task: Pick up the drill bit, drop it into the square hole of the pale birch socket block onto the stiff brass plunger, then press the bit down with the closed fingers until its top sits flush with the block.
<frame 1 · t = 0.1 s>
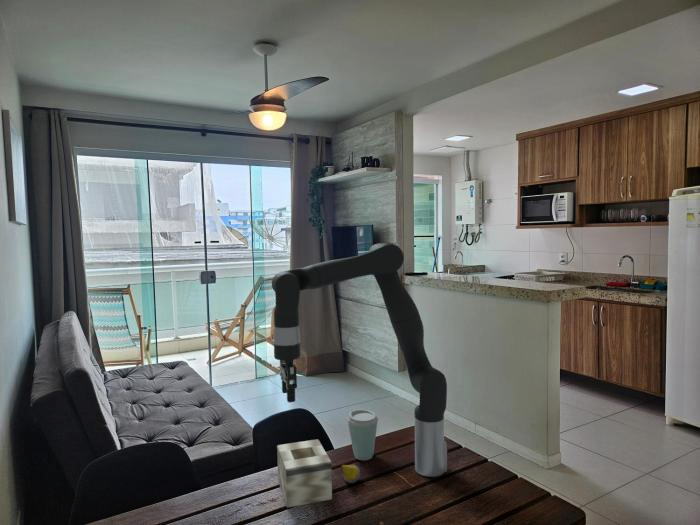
hand: (288, 397, 136), 29 cm above the table, fingers open, 8 cm apart
socket block: (303, 489, 140), on the table
drill bit: (351, 483, 144), on the table
disposable coffee cup: (363, 457, 161), on the table
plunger: (303, 474, 140), point 4 cm above the table, slide at 0.0 cm
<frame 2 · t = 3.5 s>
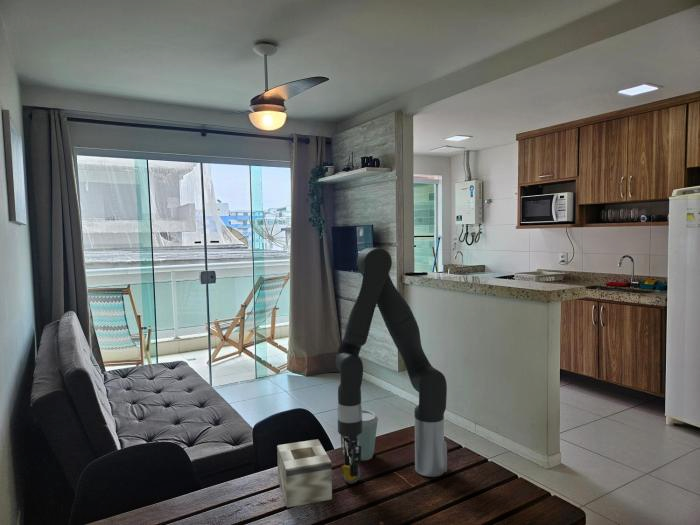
hand: (350, 470, 144), 4 cm above the table, fingers open, 5 cm apart
drill bit: (351, 483, 144), on the table, touching gripper
everything else where it was.
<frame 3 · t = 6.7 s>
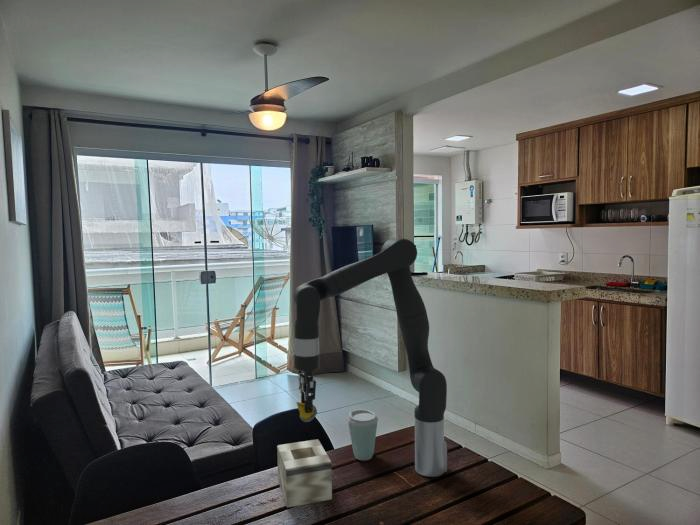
hand: (306, 409, 140), 24 cm above the table, fingers closed on drill bit, 4 cm apart
drill bit: (307, 422, 139), point 20 cm above the table, touching gripper
everything else where it was.
when the fingers open (12 cm above the table, at t = 9.5 s): drill bit moves 1 cm, resting on socket block.
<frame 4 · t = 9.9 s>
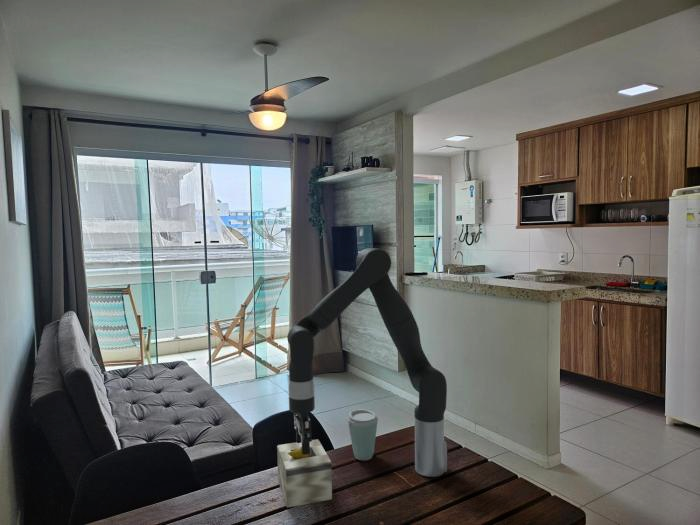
hand: (302, 447, 140), 13 cm above the table, fingers open, 8 cm apart
drill bit: (307, 464, 139), point 8 cm above the table, touching socket block
everything else where it was.
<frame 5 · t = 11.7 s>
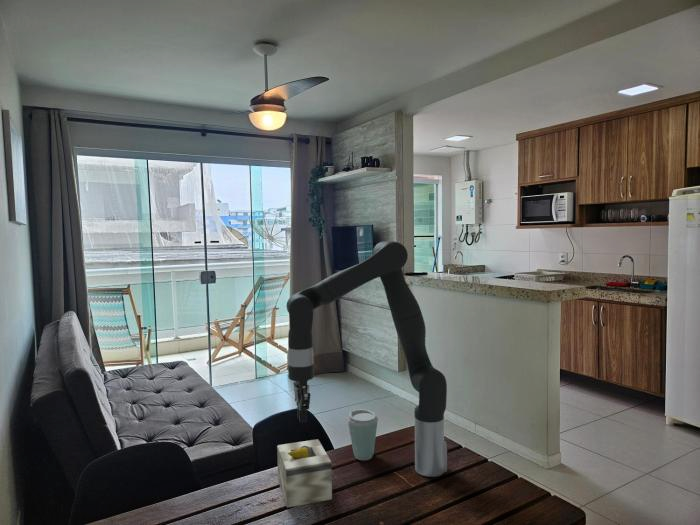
hand: (302, 419, 139), 21 cm above the table, fingers closed
nothing on the table moved.
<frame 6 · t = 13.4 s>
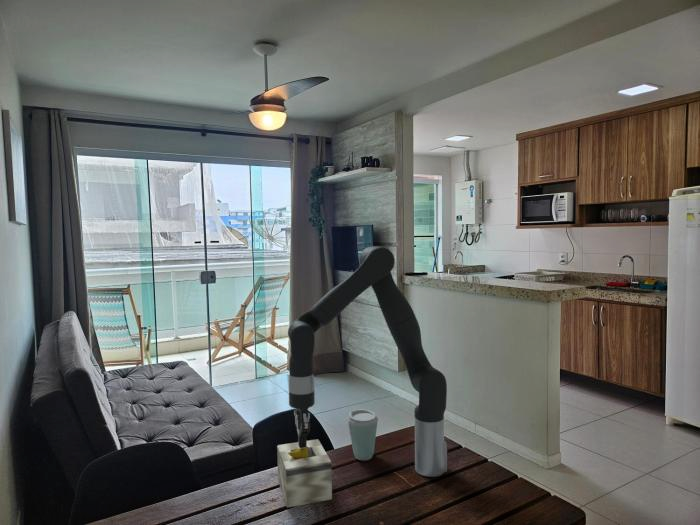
hand: (302, 446, 140), 13 cm above the table, fingers closed
drill bit: (307, 465, 139), point 8 cm above the table, touching gripper, socket block
everything else where it was.
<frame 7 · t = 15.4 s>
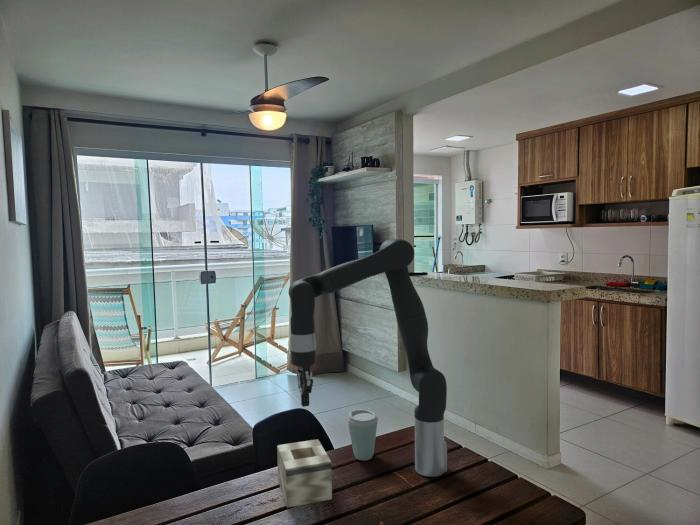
hand: (305, 405, 140), 25 cm above the table, fingers closed
drill bit: (300, 488, 138), point 1 cm above the table, touching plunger, socket block
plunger: (303, 487, 140), resting in socket block, slide at 4.1 cm, touching drill bit
everything else where it was.
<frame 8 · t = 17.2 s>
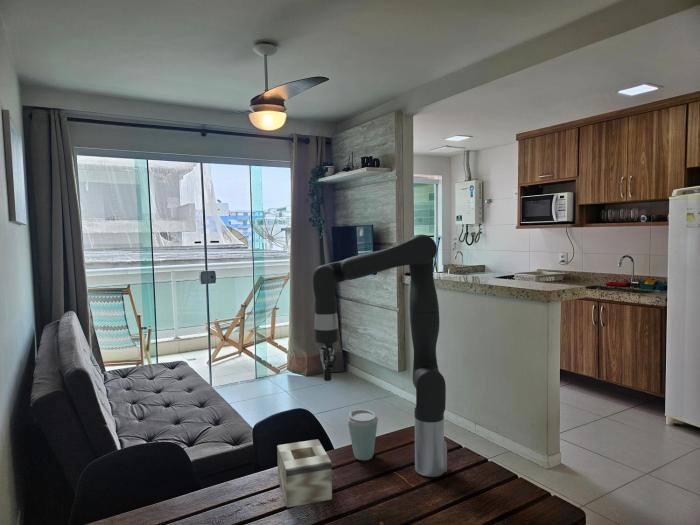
hand: (327, 380, 152), 29 cm above the table, fingers closed
nothing on the table moved.
at the end: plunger slide at 4.1 cm; drill bit 2.2 cm off-centre on the socket block, point 1.5 cm above the socket block's base; drill bit tilted 14° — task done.
